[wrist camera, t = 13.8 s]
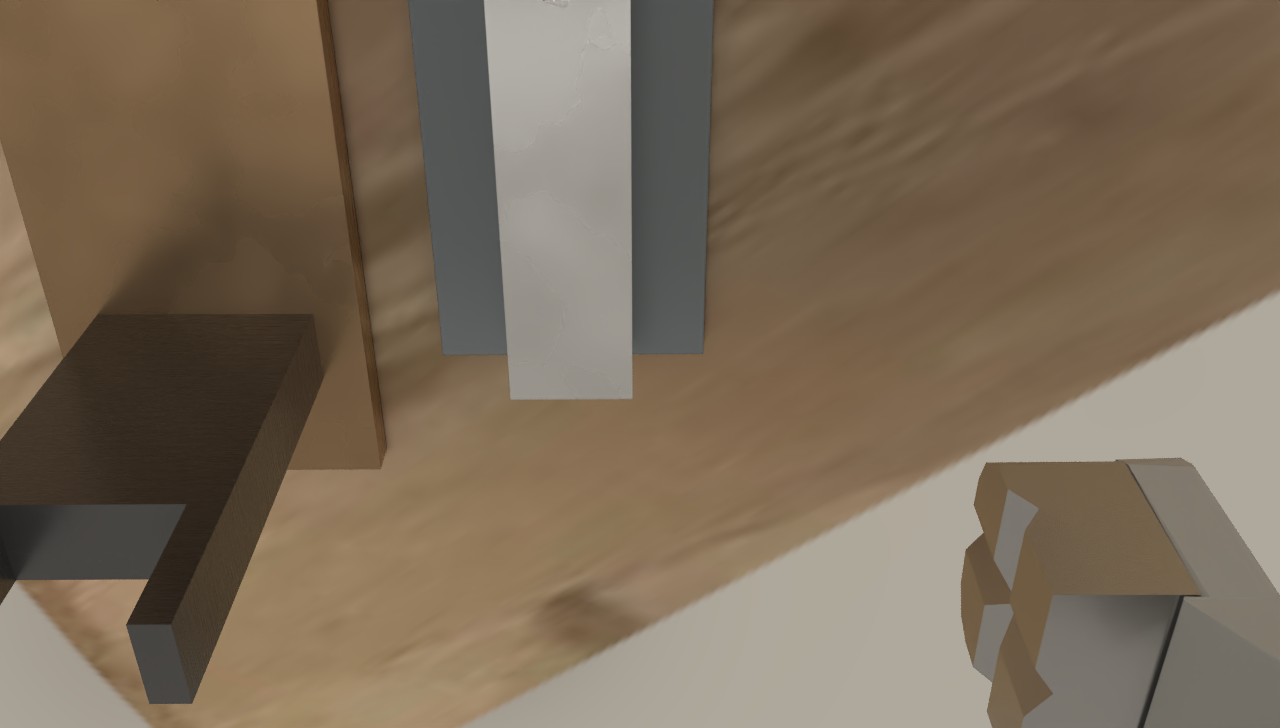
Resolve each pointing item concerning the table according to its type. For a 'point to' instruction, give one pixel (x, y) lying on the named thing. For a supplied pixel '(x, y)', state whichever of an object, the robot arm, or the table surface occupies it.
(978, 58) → the table surface
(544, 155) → the rail
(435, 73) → the mat
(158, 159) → the rack
